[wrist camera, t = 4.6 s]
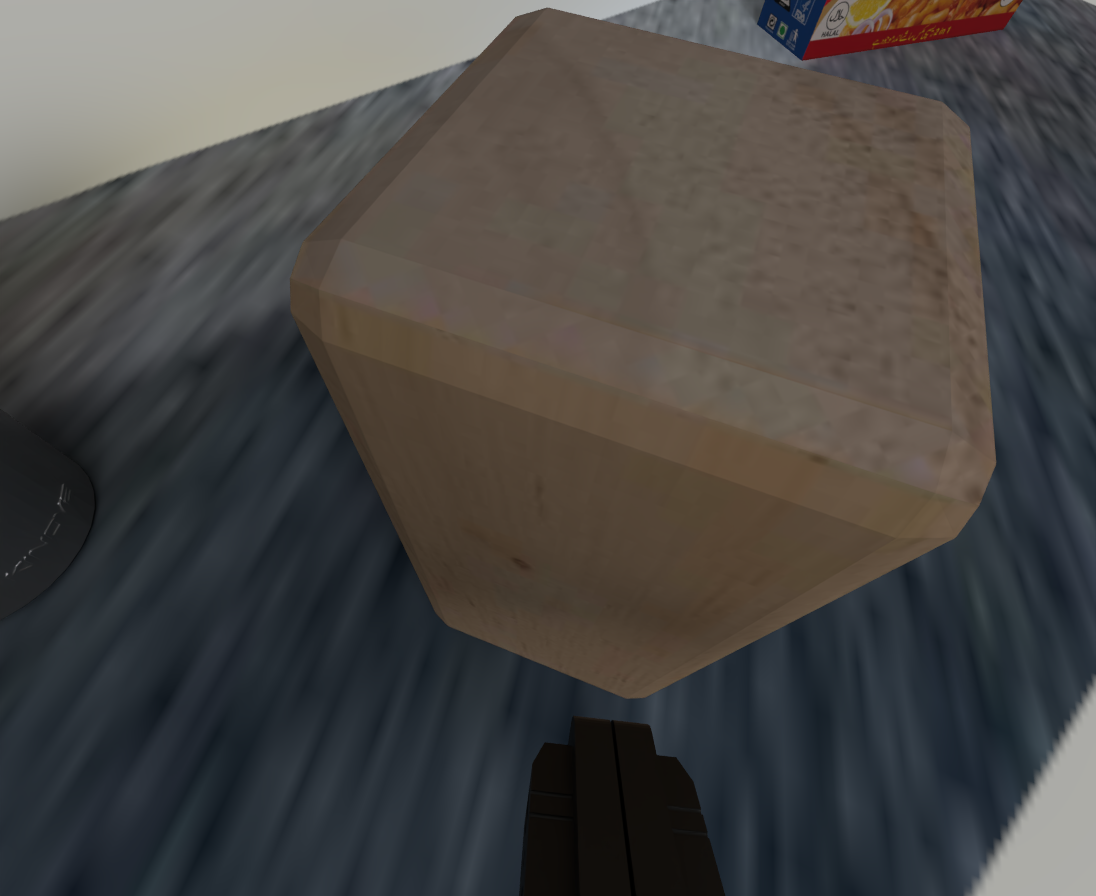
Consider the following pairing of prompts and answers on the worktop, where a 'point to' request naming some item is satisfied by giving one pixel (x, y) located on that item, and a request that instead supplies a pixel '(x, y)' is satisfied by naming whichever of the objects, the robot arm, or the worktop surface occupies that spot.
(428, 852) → the worktop surface
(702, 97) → the wooden block
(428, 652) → the worktop surface
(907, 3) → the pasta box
